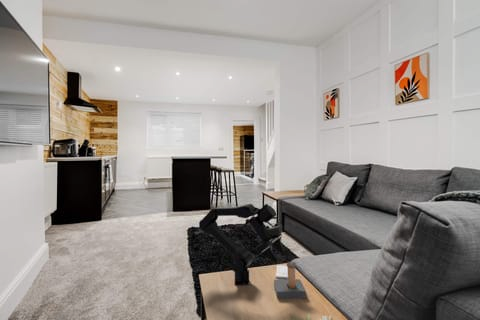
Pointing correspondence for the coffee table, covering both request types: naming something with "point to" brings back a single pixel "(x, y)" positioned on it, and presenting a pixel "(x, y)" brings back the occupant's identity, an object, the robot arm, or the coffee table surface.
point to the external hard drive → (282, 272)
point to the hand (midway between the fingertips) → (281, 258)
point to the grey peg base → (289, 290)
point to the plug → (291, 275)
